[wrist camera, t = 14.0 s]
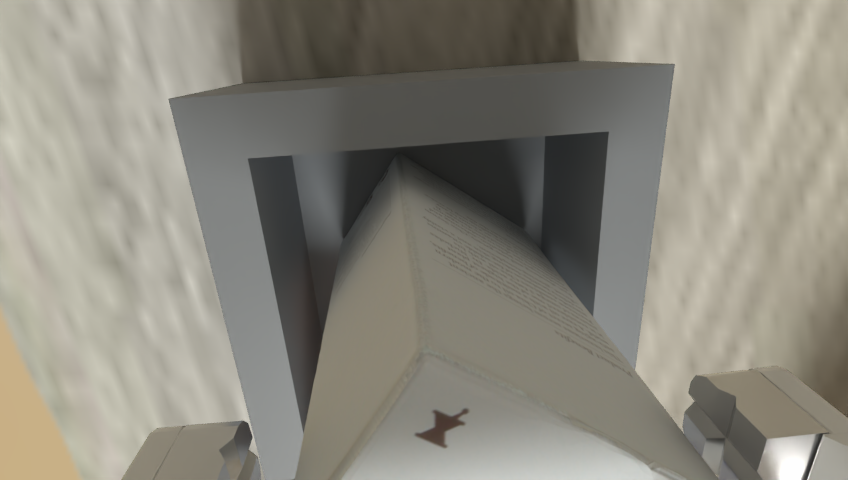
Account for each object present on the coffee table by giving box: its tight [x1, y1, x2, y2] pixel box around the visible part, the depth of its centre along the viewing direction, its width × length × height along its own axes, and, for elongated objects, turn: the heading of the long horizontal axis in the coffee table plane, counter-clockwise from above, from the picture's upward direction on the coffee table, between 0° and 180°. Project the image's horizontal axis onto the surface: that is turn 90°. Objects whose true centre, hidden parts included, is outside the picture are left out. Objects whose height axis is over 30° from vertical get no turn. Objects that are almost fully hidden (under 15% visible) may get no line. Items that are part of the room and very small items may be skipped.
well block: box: [169, 61, 675, 480], centre depth 16 cm, size 12×12×6 cm
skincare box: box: [295, 153, 719, 480], centre depth 12 cm, size 6×4×12 cm
